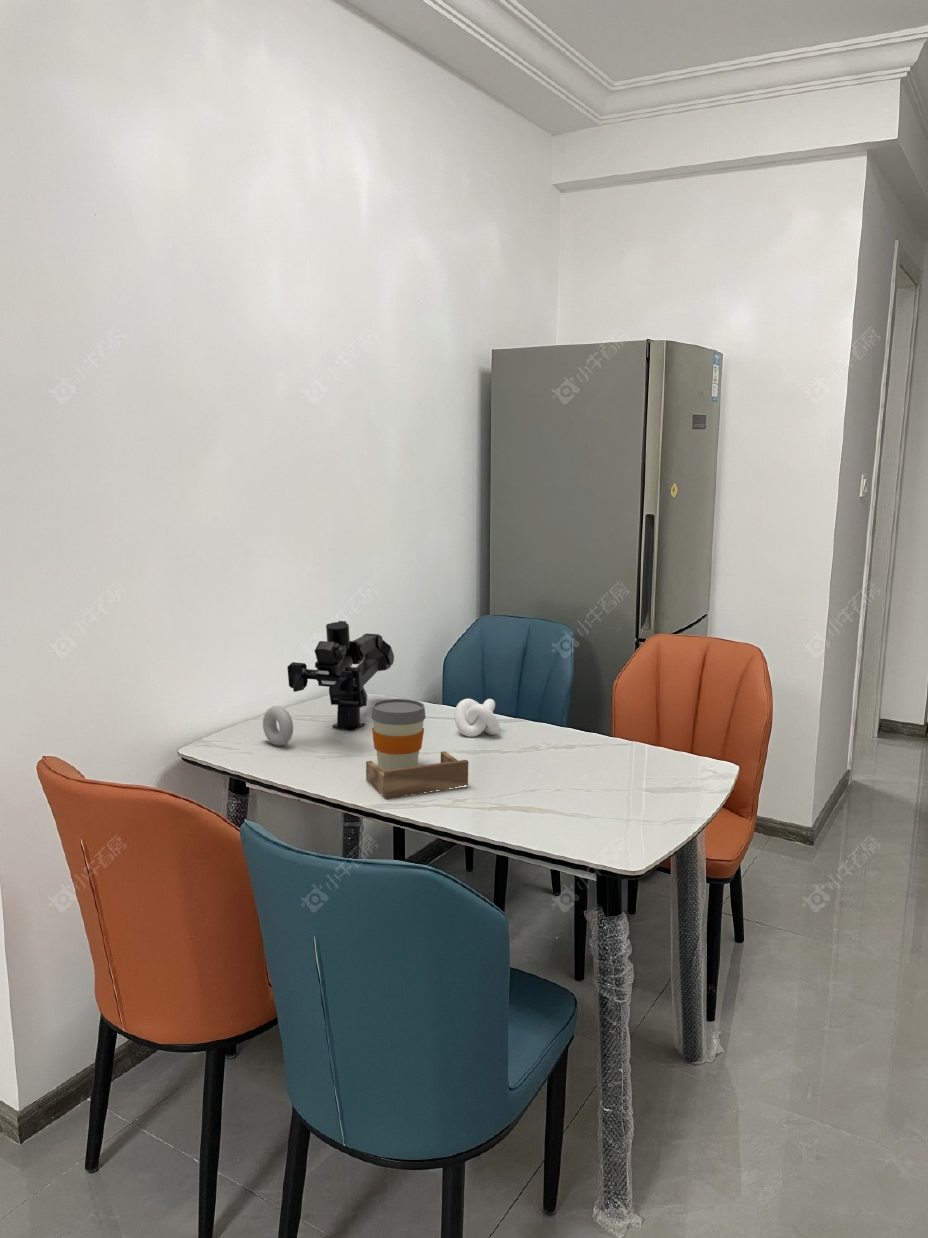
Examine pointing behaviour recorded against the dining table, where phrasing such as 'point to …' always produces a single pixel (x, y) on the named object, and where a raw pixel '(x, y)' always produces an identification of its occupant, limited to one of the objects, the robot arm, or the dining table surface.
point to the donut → (284, 725)
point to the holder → (418, 777)
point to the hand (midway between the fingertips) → (311, 691)
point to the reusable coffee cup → (397, 732)
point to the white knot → (476, 717)
